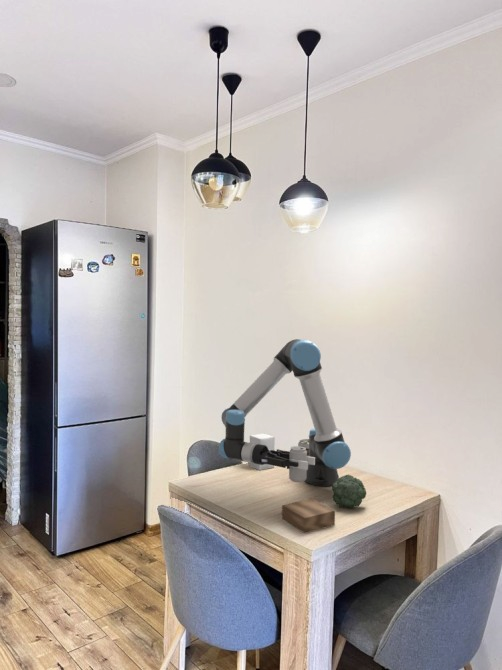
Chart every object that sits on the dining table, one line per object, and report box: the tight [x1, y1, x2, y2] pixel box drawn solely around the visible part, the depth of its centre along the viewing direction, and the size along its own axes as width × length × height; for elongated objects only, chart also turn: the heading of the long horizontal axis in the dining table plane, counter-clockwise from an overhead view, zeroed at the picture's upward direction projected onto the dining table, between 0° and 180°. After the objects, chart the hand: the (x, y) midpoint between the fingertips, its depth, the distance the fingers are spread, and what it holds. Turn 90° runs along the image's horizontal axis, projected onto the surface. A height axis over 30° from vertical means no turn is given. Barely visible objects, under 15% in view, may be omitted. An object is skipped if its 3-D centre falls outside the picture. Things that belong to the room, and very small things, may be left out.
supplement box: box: [248, 433, 276, 471], centre depth 230 cm, size 9×9×15 cm
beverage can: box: [288, 445, 307, 483], centre depth 177 cm, size 6×6×12 cm
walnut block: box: [281, 498, 336, 534], centre depth 167 cm, size 13×13×5 cm
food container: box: [297, 438, 309, 456], centre depth 241 cm, size 12×6×10 cm, turn 178°
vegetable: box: [331, 474, 367, 509], centre depth 184 cm, size 12×13×15 cm
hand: (310, 463), depth 174 cm, fingers closed on beverage can, 6 cm apart
